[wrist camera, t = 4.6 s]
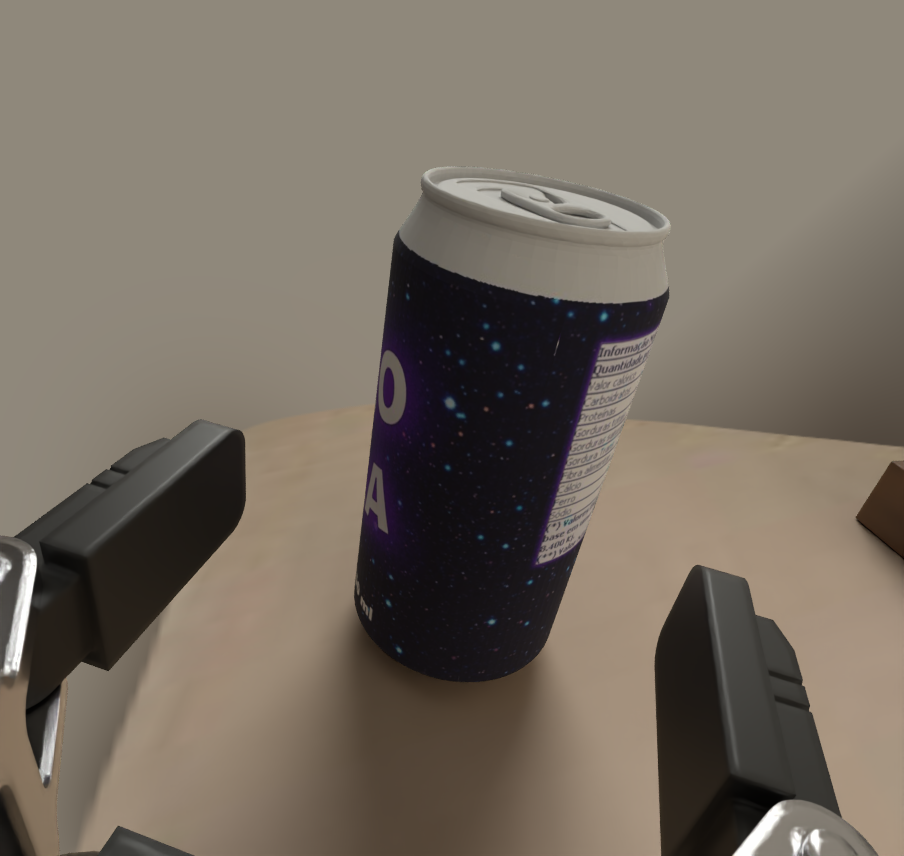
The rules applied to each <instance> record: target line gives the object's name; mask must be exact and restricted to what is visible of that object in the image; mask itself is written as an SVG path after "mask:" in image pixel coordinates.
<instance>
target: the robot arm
mask: <svg viewBox="0 0 904 856" xmlns="http://www.w3.org/2000/svg"><path fill="white" fill-rule="evenodd" d="M245 501H246V477H245V438H244V435H243V433H242V432H241V431H240V430H236V429H233V428H229V427H226V426H223V425H219V424H215V423H212V422H209V421H206V420H197V421H195V422H193V423H192V424H190V425H189V426H188V427H187V428H185V429H184V430H183V431H181V432H180V433H179V434H177V435H176V436H175V437H173V438H172V439H171V440H170V439H167V438H162V439H159V440H156V441H154V442H151V443H149V444H146V445H143V446H141V447H138V448H136V449H133V450H132V451H130V452H129V453H128V454H126V455H125V456H124V457H123V458H121V459H120V460H118V461H117V462H115V463H114V464H113V465H111V468H110V470H107V469H106V470H105V471H103V472H102V473H100V474H99V475H98V476H96V477H95V478H94V479H93V480H92V482H91V484H88V483H87V484H86V485H84V486H83V487H82V488H80V489H79V490H77V491H76V492H75V493H73V494H72V495H71V496H69V497H68V498H67V499H65V500H64V501H62V502H61V503H60V504H58V505H57V506H56V507H54V508H53V509H52V510H50V511H49V512H47V513H46V514H45V515H43V516H42V517H41V518H39V519H38V520H37V521H35V522H34V523H32V524H31V525H30V526H28V527H27V528H26V529H24V530H23V531H22V532H20V533H19V534H18V535H16V536H15V537H8V536H0V856H194V855H191V854H189V853H186V852H184V851H181V850H179V849H176V848H174V847H171V846H168V845H166V844H163V843H161V842H158V841H156V840H153V839H151V838H148V837H146V836H143V835H141V834H138V833H135V832H133V831H130V830H128V829H125V828H123V827H120V826H118V827H117V828H116V829H115V831H114V832H113V834H112V835H111V837H110V838H109V840H108V841H107V842H106V844H105V845H104V847H103V848H102V850H101V851H100V852H97V851H91V852H78V853H68V854H63V855H59V834H58V824H57V794H58V784H59V783H58V782H59V773H60V764H61V753H62V743H63V732H64V722H65V712H66V701H67V692H68V683H67V679H66V677H67V676H68V675H69V674H70V673H71V672H72V671H73V670H74V669H75V668H76V667H77V665H78V664H79V663H80V662H84V663H87V664H90V665H93V666H95V667H98V668H101V669H104V670H107V671H109V670H110V669H111V668H112V667H113V666H114V664H115V663H116V662H117V661H118V660H119V658H121V657H122V655H123V654H124V653H125V652H126V651H127V650H128V649H129V648H130V647H131V645H132V644H133V643H134V642H135V641H136V640H137V639H138V638H139V636H140V635H141V634H142V633H143V632H144V631H145V629H146V628H147V627H148V626H149V625H150V624H151V623H152V622H153V621H154V620H155V618H156V617H157V616H158V615H159V614H160V613H161V612H162V611H163V610H164V608H165V607H166V606H167V605H168V604H169V603H170V602H171V601H172V599H173V598H174V597H175V596H176V595H177V594H178V593H179V592H180V590H181V589H182V588H183V587H184V586H185V585H186V584H187V583H188V581H189V580H190V579H191V578H192V577H193V576H194V575H195V574H196V573H197V571H198V570H199V569H200V568H201V567H202V566H203V565H204V564H205V562H206V561H207V560H208V559H209V558H210V557H211V556H212V555H213V553H214V552H215V551H216V550H217V549H218V548H219V547H220V546H221V544H222V543H223V542H224V541H225V540H226V539H227V538H228V537H229V536H230V534H231V533H232V532H233V531H234V529H235V528H236V526H237V525H238V523H239V521H240V519H241V516H242V514H243V511H244V507H245ZM802 681H803V679H802V676H801V672H800V669H799V665H798V662H797V658H796V655H795V651H794V649H793V648H792V646H791V645H790V643H789V642H788V641H787V639H786V638H785V636H784V635H783V633H782V632H781V631H780V629H779V628H778V626H777V625H776V623H775V622H774V621H773V620H771V619H768V618H764V617H761V616H758V615H755V611H754V607H753V602H752V598H751V594H750V589H749V585H748V582H747V581H746V579H745V578H742V577H739V576H735V575H732V574H728V573H725V572H721V571H718V570H714V569H711V568H708V567H704V566H701V565H696V566H694V567H693V568H692V570H691V571H690V573H689V575H688V577H687V579H686V581H685V583H684V585H683V587H682V589H681V591H680V593H679V595H678V597H677V599H676V601H675V603H674V605H673V607H672V609H671V611H670V613H669V615H668V617H667V619H666V621H665V623H664V625H663V628H662V630H661V633H660V636H659V639H658V643H657V648H656V654H655V692H656V720H657V748H658V776H659V804H660V833H661V856H878V854H877V853H876V851H875V850H874V849H873V847H872V846H871V845H870V844H869V843H868V842H867V840H866V839H865V838H864V837H863V836H862V835H861V834H860V833H859V832H858V831H857V830H856V829H855V828H854V827H852V826H851V825H850V824H849V823H847V822H846V821H845V820H844V819H842V816H841V814H840V810H839V807H838V803H837V800H836V796H835V793H834V789H833V786H832V782H831V779H830V775H829V772H828V768H827V764H826V761H825V757H824V754H823V750H822V747H821V743H820V740H819V736H818V733H817V729H816V725H815V722H814V718H813V715H812V713H811V712H809V707H810V704H809V701H808V697H807V694H806V690H805V687H804V686H802Z"/></svg>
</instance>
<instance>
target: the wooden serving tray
mask: <svg viewBox="0 0 904 856" xmlns="http://www.w3.org/2000/svg"><path fill="white" fill-rule="evenodd" d="M856 519H857V520H859V521H860V522H861V523H862V524H863V525H865V526H866V527H867V528H868V529H869V530H871V531H872V532H873V533H874V534H876V535H877V536H878V537H879V538H880V539H882V540H883V541H884V542H885V543H886V544H888V545H889V546H890V547H891V548H892V549H894V550H895V551H896V552H897V553H898V554H900V555H901V556H902V557H903V558H904V461H892V462H891V463H890V464H889V466H888V468H887V469H886V471H885V472H884V474H883V475H882V477H881V479H880V480H879V482H878V483H877V485H876V486H875V488H874V489H873V491H872V493H871V494H870V496H869V497H868V499H867V500H866V502H865V504H864V505H863V507H862V508H861V510H860V511H859V513H858V514H857V516H856Z"/></svg>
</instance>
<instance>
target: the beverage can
mask: <svg viewBox="0 0 904 856" xmlns="http://www.w3.org/2000/svg"><path fill="white" fill-rule="evenodd" d="M421 187H422V190H423V193H422V195H421V197H420V199H419V201H418V202H417V204H416V206H415V207H414V209H413V210H412V212H411V213H410V215H409V216H408V218H407V219H406V221H405V222H404V224H403V225H402V227H401V228H400V230H399V231H398V233H397V234H396V236H395V238H394V244H393V253H392V262H391V270H390V280H389V288H388V297H387V306H386V315H385V323H384V333H383V342H382V350H381V359H380V368H379V377H378V385H377V394H376V403H375V412H374V421H373V430H372V439H371V447H370V456H369V465H368V474H367V483H366V492H365V501H364V509H363V518H362V527H361V536H360V545H359V554H358V563H357V571H356V580H355V590H354V599H355V606H356V610H357V613H358V616H359V619H360V621H361V623H362V625H363V627H364V629H365V630H366V632H367V633H368V635H369V636H370V637H371V639H372V640H373V641H374V642H375V643H376V644H377V645H378V646H379V647H380V648H381V649H382V650H383V651H384V652H385V653H386V654H388V655H389V656H390V657H391V658H393V659H394V660H396V661H397V662H399V663H401V664H402V665H404V666H406V667H408V668H410V669H412V670H414V671H416V672H419V673H421V674H424V675H427V676H430V677H434V678H438V679H442V680H448V681H456V682H480V681H487V680H493V679H497V678H501V677H504V676H506V675H509V674H511V673H514V672H516V671H517V670H519V669H521V668H523V667H524V666H526V665H527V664H528V663H529V662H531V661H532V660H533V659H534V658H535V657H536V656H537V655H538V654H539V652H540V651H541V650H542V648H543V647H544V645H545V643H546V641H547V639H548V636H549V634H550V631H551V628H552V625H553V622H554V620H555V617H556V614H557V611H558V608H559V605H560V603H561V600H562V597H563V594H564V591H565V589H566V586H567V583H568V580H569V577H570V575H571V572H572V569H573V566H574V563H575V561H576V558H577V555H578V552H579V549H580V546H581V544H582V541H583V538H584V535H585V532H586V530H587V527H588V524H589V521H590V518H591V516H592V513H593V510H594V507H595V504H596V502H597V499H598V496H599V493H600V490H601V487H602V485H603V482H604V479H605V476H606V473H607V471H608V468H609V465H610V462H611V459H612V457H613V454H614V451H615V448H616V445H617V443H618V440H619V437H620V434H621V431H622V428H623V426H624V423H625V420H626V417H627V414H628V412H629V409H630V406H631V403H632V400H633V397H634V395H635V392H636V389H637V386H638V383H639V381H640V378H641V375H642V372H643V369H644V367H645V364H646V361H647V358H648V355H649V352H650V350H651V347H652V344H653V341H654V338H655V336H656V333H657V330H658V327H659V324H660V321H661V319H662V316H663V313H664V310H665V308H666V305H667V302H668V299H669V287H668V280H667V273H666V267H665V260H664V252H663V240H665V239H666V238H667V236H668V234H669V232H670V229H671V224H670V222H669V220H668V219H667V218H666V217H665V216H664V215H662V214H661V213H659V212H657V211H656V210H654V209H652V208H650V207H648V206H646V205H643V204H641V203H638V202H635V201H633V200H631V199H628V198H625V197H622V196H619V195H616V194H612V193H609V192H606V191H603V190H600V189H596V188H592V187H588V186H584V185H580V184H576V183H572V182H569V181H564V180H559V179H554V178H549V177H544V176H539V175H534V174H528V173H521V172H514V171H508V170H500V169H490V168H480V167H441V168H434V169H431V170H428V171H427V172H425V173H424V174H423V176H422V179H421Z"/></svg>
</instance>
